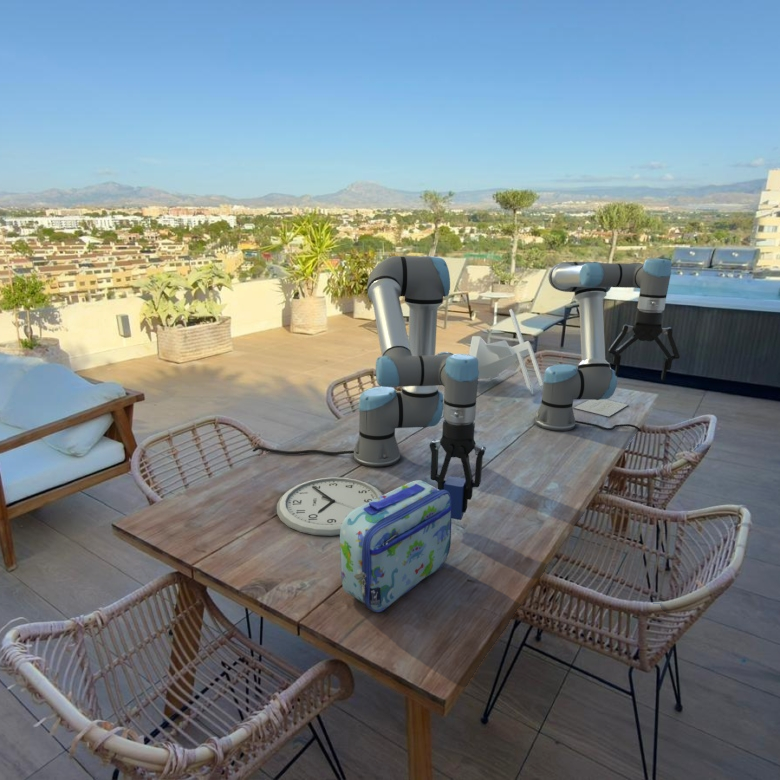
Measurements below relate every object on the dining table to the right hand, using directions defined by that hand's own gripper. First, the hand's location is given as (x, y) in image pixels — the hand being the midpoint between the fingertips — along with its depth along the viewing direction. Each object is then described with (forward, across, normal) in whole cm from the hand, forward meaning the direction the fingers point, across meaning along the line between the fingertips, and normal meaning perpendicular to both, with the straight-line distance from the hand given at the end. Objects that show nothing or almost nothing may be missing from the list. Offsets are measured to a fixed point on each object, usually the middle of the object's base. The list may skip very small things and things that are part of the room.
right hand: (639, 377), depth 167 cm
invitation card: (+28, -5, +54) cm, 62 cm away
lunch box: (+28, -53, -87) cm, 106 cm away
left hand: (+22, -46, -62) cm, 81 cm away
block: (+24, -46, -62) cm, 81 cm away
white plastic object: (+28, -52, +66) cm, 89 cm away
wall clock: (+28, -80, -62) cm, 105 cm away
